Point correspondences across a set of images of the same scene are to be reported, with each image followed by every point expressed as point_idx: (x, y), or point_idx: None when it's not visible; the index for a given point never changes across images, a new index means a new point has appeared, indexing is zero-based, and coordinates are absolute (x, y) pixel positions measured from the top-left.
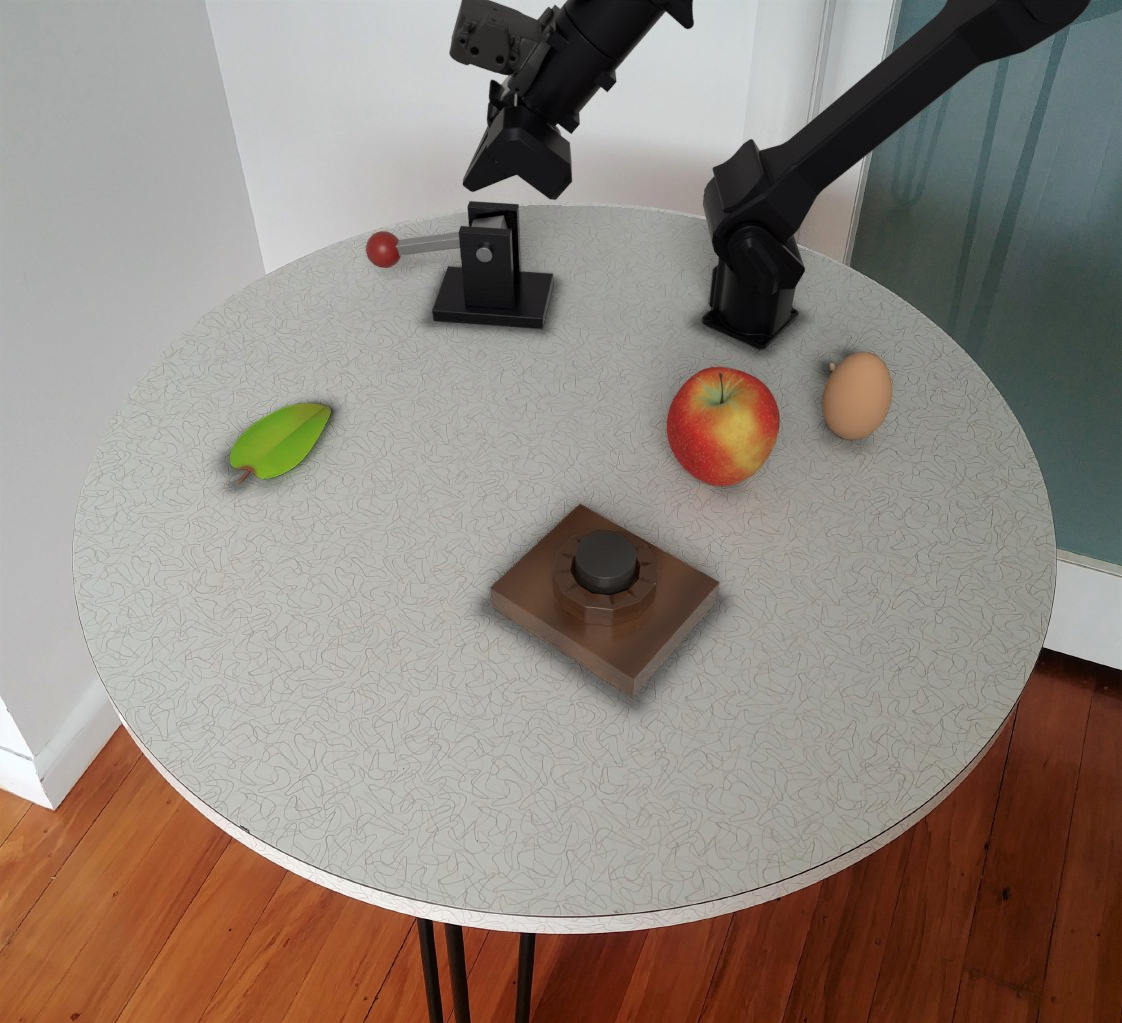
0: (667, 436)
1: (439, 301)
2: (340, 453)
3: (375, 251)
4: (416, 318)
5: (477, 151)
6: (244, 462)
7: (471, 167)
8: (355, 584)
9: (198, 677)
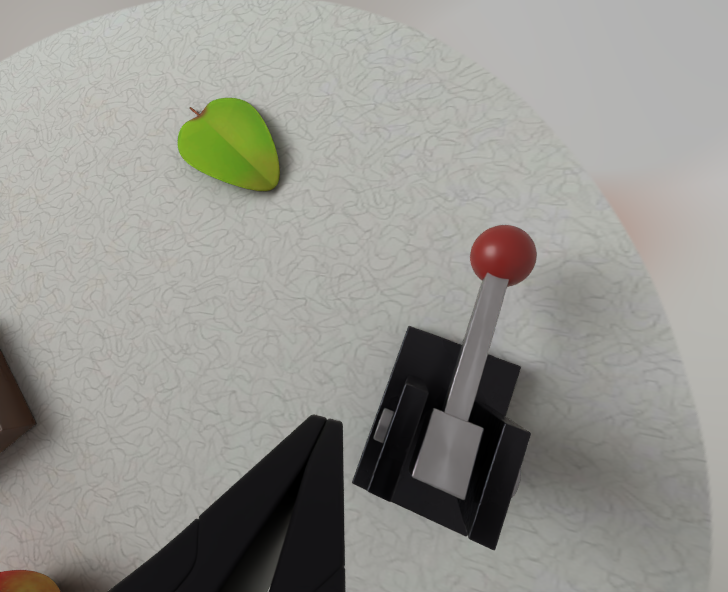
0: (2, 577)
1: (427, 339)
2: (205, 201)
3: (480, 238)
4: (421, 305)
5: (299, 519)
6: (211, 110)
7: (277, 463)
8: (50, 208)
9: (16, 97)
